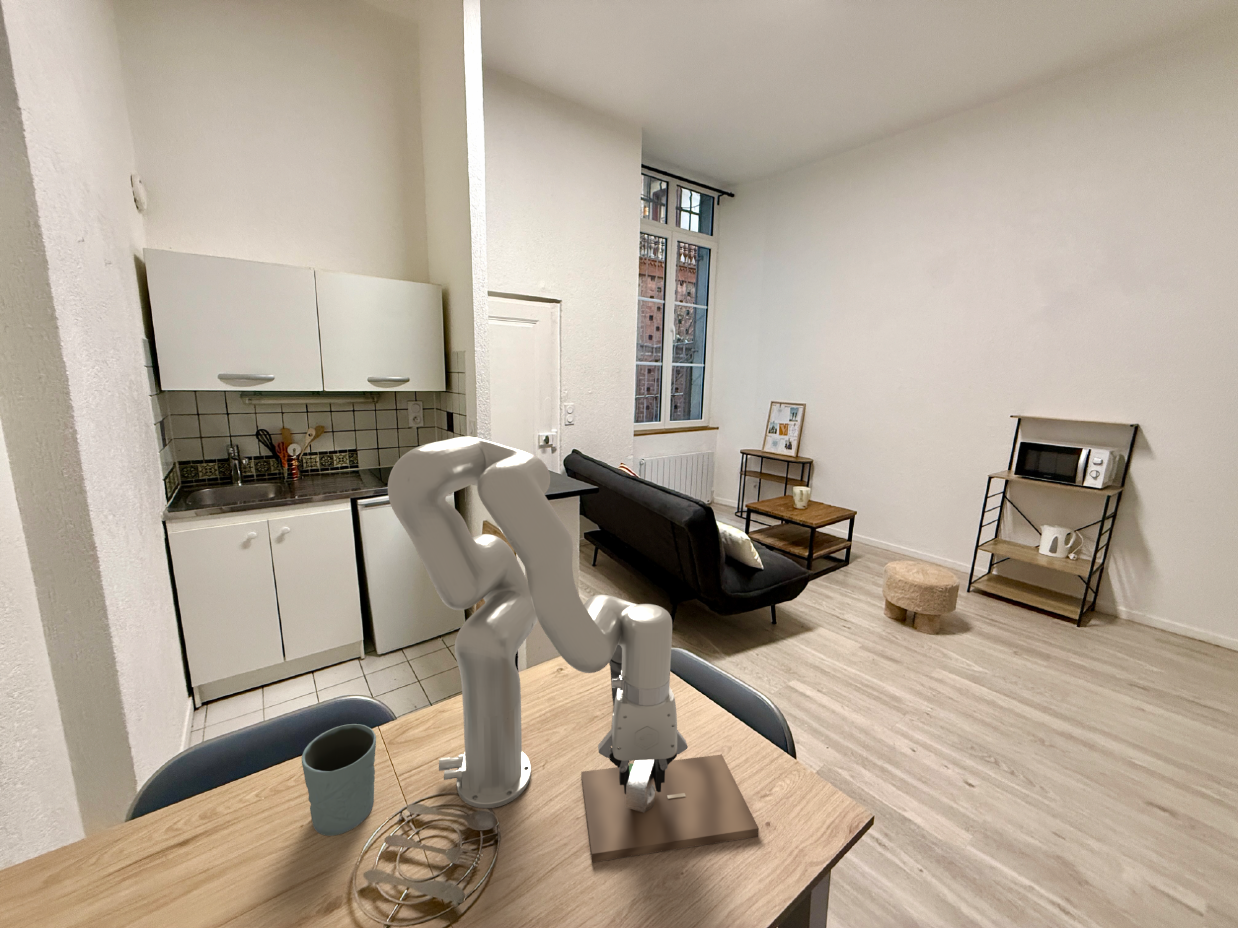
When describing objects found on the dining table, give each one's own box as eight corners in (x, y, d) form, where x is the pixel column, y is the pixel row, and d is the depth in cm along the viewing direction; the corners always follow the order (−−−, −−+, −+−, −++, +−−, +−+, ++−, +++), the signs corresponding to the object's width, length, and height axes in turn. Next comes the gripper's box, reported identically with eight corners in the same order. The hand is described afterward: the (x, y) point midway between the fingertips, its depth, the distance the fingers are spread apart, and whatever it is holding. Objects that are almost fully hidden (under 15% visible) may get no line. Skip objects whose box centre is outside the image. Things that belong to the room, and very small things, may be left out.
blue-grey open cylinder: (317, 793, 81) (311, 730, 79) (384, 778, 84) (379, 717, 82) (300, 849, 72) (292, 779, 69) (376, 829, 75) (371, 762, 73)
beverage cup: (641, 693, 108) (643, 610, 105) (639, 716, 101) (642, 628, 98) (608, 691, 109) (610, 608, 105) (604, 713, 102) (606, 625, 98)
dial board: (591, 862, 71) (591, 852, 70) (581, 777, 86) (581, 768, 85) (758, 836, 75) (758, 827, 75) (720, 759, 90) (721, 751, 90)
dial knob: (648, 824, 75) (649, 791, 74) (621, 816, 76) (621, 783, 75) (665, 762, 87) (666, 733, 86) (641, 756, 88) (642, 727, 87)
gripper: (591, 702, 71) (590, 809, 74) (704, 698, 73) (698, 802, 76) (590, 671, 78) (588, 770, 82) (692, 668, 80) (687, 764, 83)
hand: (641, 784), depth 79 cm, fingers closed on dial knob, 4 cm apart
